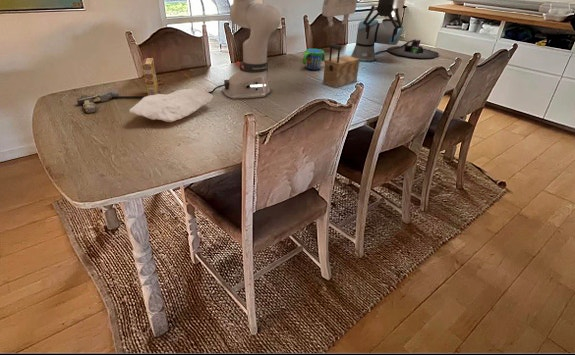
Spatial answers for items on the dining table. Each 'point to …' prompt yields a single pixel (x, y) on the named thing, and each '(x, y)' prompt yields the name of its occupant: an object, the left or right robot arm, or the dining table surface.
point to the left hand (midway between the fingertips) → (337, 25)
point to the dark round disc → (413, 51)
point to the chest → (340, 74)
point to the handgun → (95, 100)
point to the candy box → (150, 76)
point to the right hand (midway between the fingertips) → (379, 40)
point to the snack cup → (313, 58)
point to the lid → (339, 60)
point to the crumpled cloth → (171, 104)
